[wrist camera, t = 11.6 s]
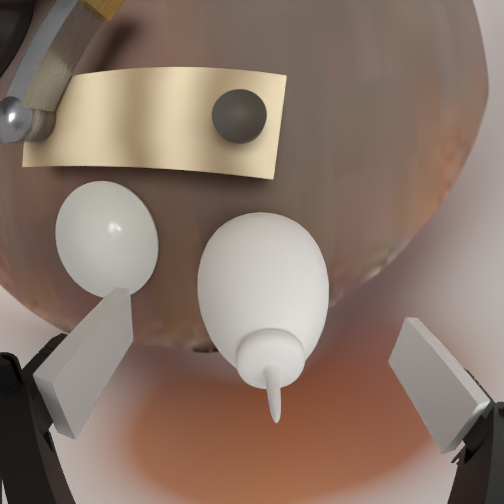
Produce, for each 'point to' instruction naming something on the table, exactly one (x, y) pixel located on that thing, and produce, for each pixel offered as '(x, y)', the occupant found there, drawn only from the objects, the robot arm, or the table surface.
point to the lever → (50, 68)
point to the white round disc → (107, 238)
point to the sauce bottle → (264, 298)
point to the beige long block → (167, 121)
